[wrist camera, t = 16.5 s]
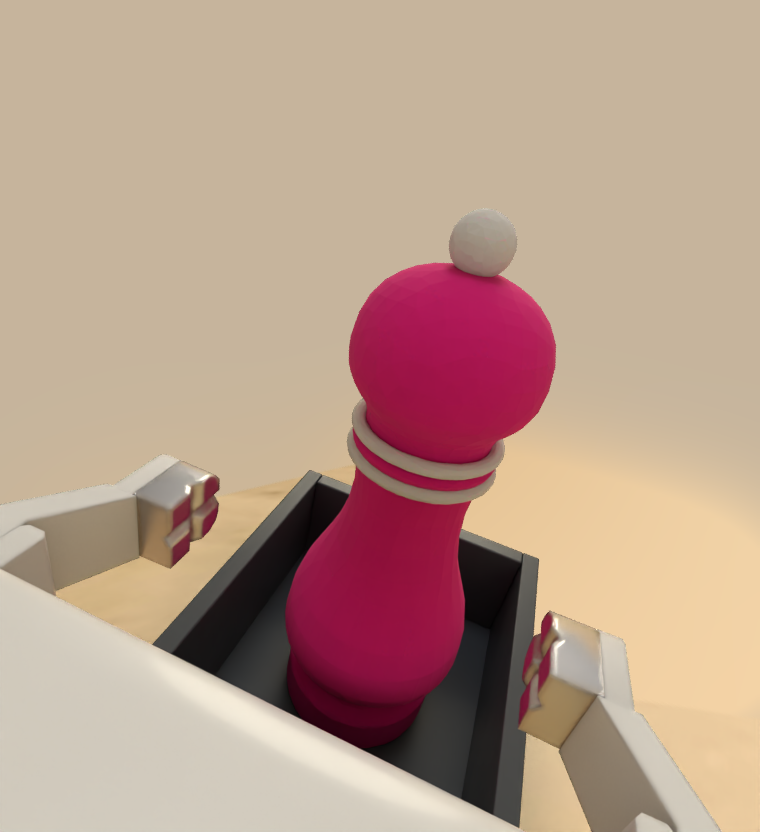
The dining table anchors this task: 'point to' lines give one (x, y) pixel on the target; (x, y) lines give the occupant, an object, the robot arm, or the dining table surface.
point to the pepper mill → (414, 482)
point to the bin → (442, 708)
